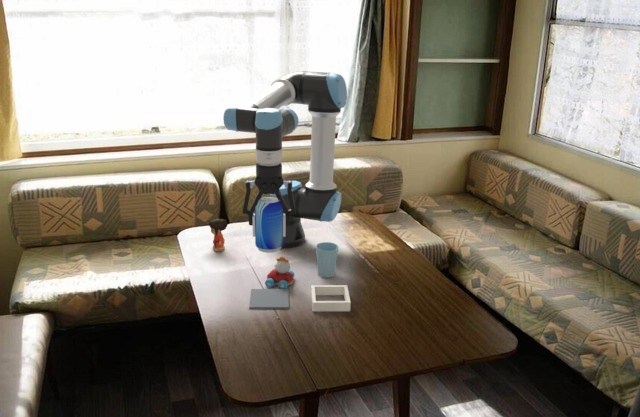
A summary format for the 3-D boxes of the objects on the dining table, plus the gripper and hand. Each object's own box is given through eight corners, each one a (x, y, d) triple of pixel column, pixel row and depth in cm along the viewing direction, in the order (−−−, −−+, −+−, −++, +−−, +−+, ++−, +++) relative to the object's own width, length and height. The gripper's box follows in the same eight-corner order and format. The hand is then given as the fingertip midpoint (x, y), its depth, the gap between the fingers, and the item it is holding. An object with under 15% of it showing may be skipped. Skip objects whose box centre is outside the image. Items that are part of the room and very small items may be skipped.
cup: (341, 277, 211) (342, 249, 207) (320, 280, 208) (321, 252, 205) (331, 268, 218) (332, 240, 214) (311, 271, 215) (312, 244, 211)
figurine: (219, 244, 235) (218, 214, 231) (229, 247, 232) (228, 217, 228) (207, 249, 230) (205, 219, 226) (217, 253, 227) (216, 222, 223)
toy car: (272, 275, 211) (271, 248, 208) (296, 279, 209) (297, 252, 206) (262, 287, 203) (262, 259, 200) (288, 291, 201) (288, 263, 198)
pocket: (311, 293, 199) (311, 285, 198) (346, 293, 200) (347, 285, 199) (312, 311, 188) (312, 302, 187) (350, 311, 189) (350, 302, 188)
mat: (251, 290, 200) (251, 288, 200) (288, 290, 201) (288, 288, 201) (249, 308, 189) (249, 307, 189) (288, 308, 190) (288, 306, 189)
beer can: (270, 240, 194) (270, 192, 189) (288, 248, 189) (289, 199, 183) (249, 247, 189) (249, 198, 183) (267, 256, 183) (267, 205, 178)
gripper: (231, 165, 176) (233, 239, 183) (305, 166, 177) (304, 239, 184) (233, 158, 183) (235, 230, 190) (305, 159, 184) (303, 230, 192)
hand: (269, 234), depth 187 cm, fingers closed on beer can, 8 cm apart
